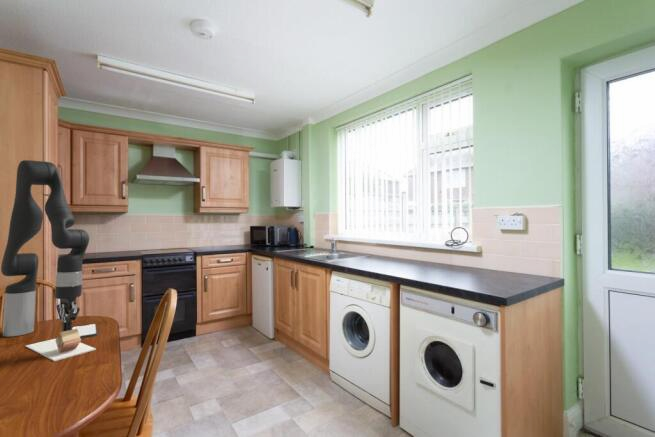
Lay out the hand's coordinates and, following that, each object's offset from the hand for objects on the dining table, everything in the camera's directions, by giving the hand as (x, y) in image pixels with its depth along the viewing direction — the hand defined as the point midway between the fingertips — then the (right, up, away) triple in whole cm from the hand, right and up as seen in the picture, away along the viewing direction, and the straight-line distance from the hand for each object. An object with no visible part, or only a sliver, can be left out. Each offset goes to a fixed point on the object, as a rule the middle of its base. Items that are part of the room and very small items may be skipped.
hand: (66, 332), depth 112 cm
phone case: (-9, -8, +19) cm, 23 cm away
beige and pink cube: (0, -1, 0) cm, 1 cm away
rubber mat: (-4, -7, +2) cm, 8 cm away
